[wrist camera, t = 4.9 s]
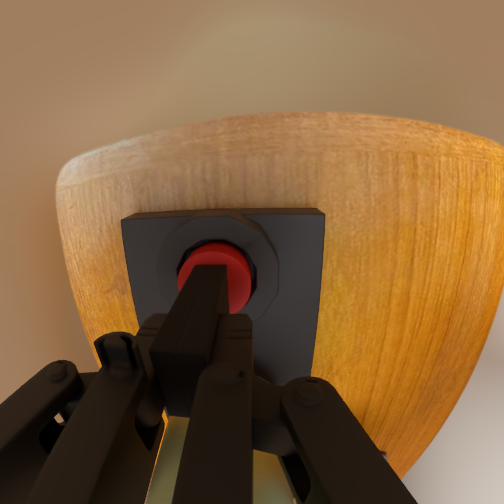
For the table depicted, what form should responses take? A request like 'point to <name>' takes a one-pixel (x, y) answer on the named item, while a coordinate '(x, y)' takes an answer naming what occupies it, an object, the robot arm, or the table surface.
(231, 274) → the red push button
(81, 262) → the table surface
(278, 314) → the base
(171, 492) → the kettle
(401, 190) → the table surface
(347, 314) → the table surface
